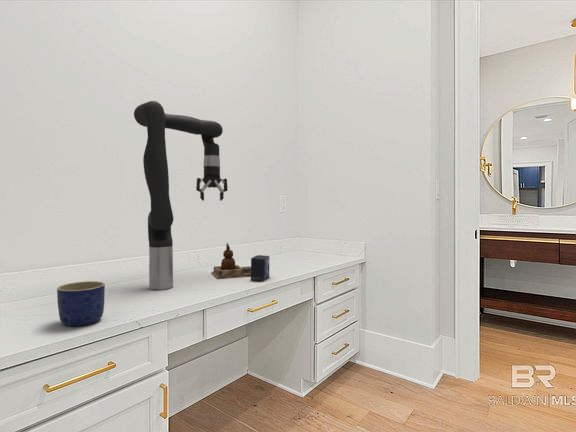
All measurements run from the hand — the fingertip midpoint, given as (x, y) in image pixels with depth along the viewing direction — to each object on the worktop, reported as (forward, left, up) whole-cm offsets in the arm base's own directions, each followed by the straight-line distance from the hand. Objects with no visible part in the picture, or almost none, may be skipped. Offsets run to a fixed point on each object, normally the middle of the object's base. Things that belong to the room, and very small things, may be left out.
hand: (212, 200), depth 176 cm
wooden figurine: (+8, +1, -35) cm, 36 cm away
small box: (+19, -14, -36) cm, 43 cm away
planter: (-49, -51, -36) cm, 80 cm away
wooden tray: (+11, +1, -36) cm, 38 cm away
